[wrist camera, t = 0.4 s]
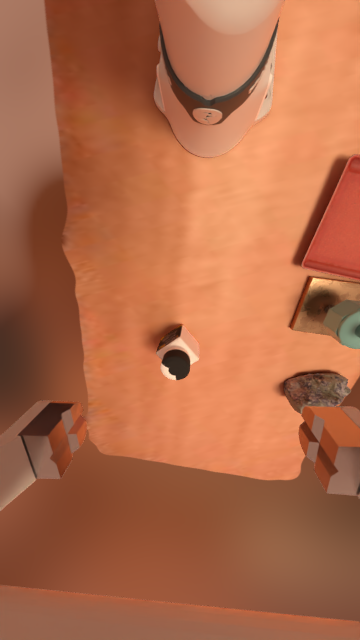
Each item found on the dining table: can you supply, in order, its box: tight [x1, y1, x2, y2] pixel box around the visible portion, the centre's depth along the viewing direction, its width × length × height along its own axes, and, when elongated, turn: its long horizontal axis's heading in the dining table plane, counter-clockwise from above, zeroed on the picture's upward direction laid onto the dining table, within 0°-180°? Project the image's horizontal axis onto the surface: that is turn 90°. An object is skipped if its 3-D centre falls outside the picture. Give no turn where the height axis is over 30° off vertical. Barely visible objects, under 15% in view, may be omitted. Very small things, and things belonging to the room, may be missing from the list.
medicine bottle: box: [156, 324, 199, 380], centre depth 46 cm, size 7×7×12 cm
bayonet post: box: [290, 276, 360, 336], centre depth 40 cm, size 12×12×10 cm
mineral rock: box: [284, 373, 351, 414], centre depth 48 cm, size 13×11×10 cm
